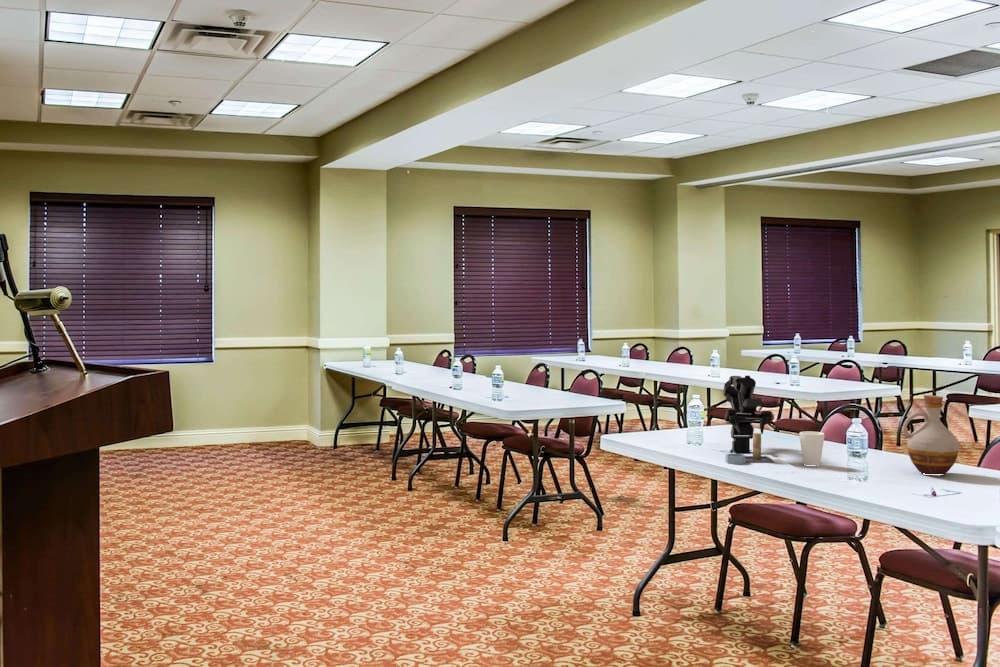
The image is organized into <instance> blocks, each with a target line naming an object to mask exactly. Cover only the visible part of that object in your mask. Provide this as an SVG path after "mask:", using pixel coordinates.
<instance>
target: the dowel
mask: <svg viewBox="0 0 1000 667" xmlns="http://www.w3.org/2000/svg"><path fill="white" fill-rule="evenodd" d="M752 456H753V460H761V456H762V434H761V432H753V438H752Z"/></svg>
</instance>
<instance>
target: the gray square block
mask: <svg viewBox="0 0 1000 667" xmlns="http://www.w3.org/2000/svg"><path fill="white" fill-rule="evenodd" d="M745 456H746V455H745V454H744V453H727V454H725V463H726V464H730V465H743V464H746V462H745Z"/></svg>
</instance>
